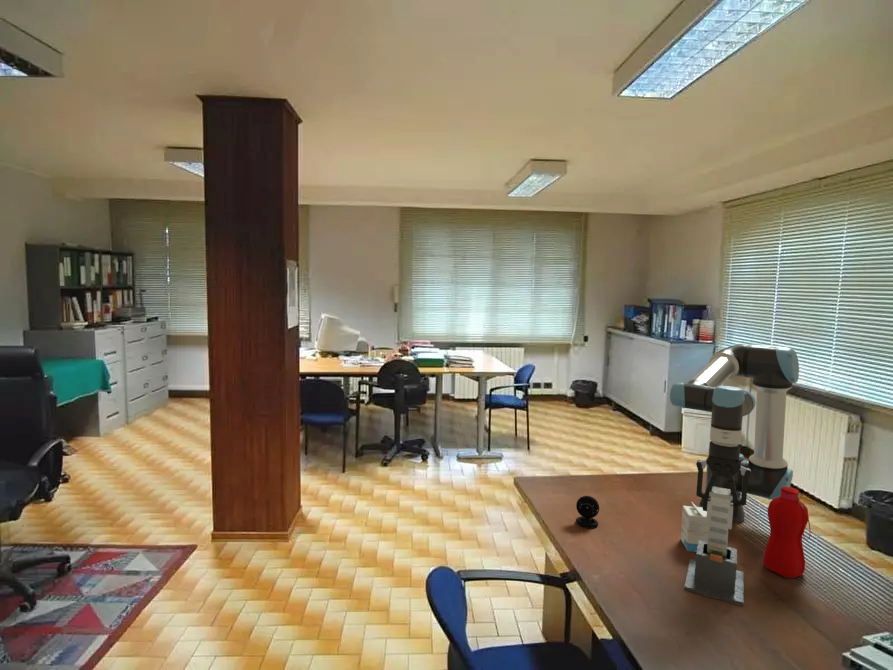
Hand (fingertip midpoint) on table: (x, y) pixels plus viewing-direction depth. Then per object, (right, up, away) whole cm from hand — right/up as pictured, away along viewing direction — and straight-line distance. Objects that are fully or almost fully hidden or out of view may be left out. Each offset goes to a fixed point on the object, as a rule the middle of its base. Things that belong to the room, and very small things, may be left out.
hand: (718, 524), depth 146 cm
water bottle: (+24, -17, +8) cm, 31 cm away
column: (0, -10, +1) cm, 10 cm away
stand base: (-1, -17, +1) cm, 17 cm away
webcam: (-27, -13, +37) cm, 48 cm away
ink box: (+5, -15, +23) cm, 28 cm away
